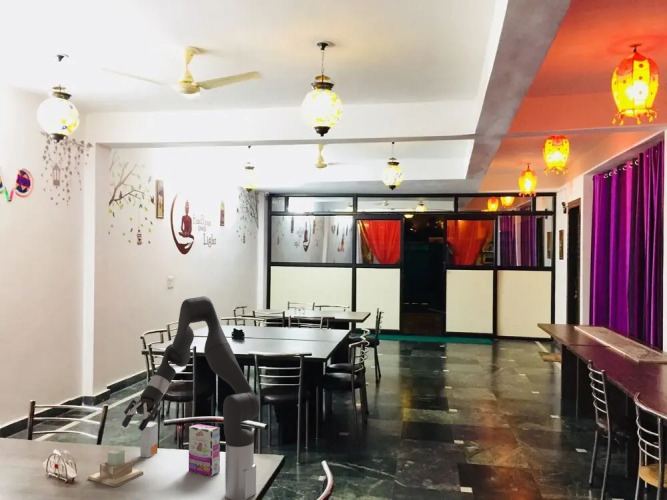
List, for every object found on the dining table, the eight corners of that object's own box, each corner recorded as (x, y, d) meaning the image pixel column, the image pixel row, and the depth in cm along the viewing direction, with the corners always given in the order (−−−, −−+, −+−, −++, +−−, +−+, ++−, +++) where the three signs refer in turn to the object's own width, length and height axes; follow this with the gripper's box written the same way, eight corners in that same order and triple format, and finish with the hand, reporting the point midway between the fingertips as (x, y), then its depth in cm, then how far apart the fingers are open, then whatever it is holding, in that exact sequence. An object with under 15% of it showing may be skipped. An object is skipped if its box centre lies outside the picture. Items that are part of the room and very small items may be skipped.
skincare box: (149, 457, 205) (150, 427, 206) (140, 456, 206) (140, 426, 206) (158, 452, 211) (158, 422, 212) (148, 451, 212) (148, 421, 212)
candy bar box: (220, 472, 192) (220, 427, 192) (211, 477, 187) (211, 431, 187) (197, 466, 197) (197, 422, 197) (187, 471, 192) (188, 426, 193)
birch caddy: (143, 474, 190) (143, 460, 190) (115, 487, 179) (115, 472, 179) (116, 467, 196) (116, 453, 196) (88, 479, 185) (88, 464, 185)
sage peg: (124, 472, 188) (124, 450, 189) (115, 476, 185) (115, 454, 185) (116, 470, 190) (116, 448, 190) (107, 474, 187) (107, 452, 187)
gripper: (137, 382, 205) (112, 420, 195) (164, 386, 199) (140, 425, 188) (147, 393, 210) (124, 430, 199) (174, 397, 203) (151, 436, 193)
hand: (131, 428), depth 194 cm, fingers open, 8 cm apart
